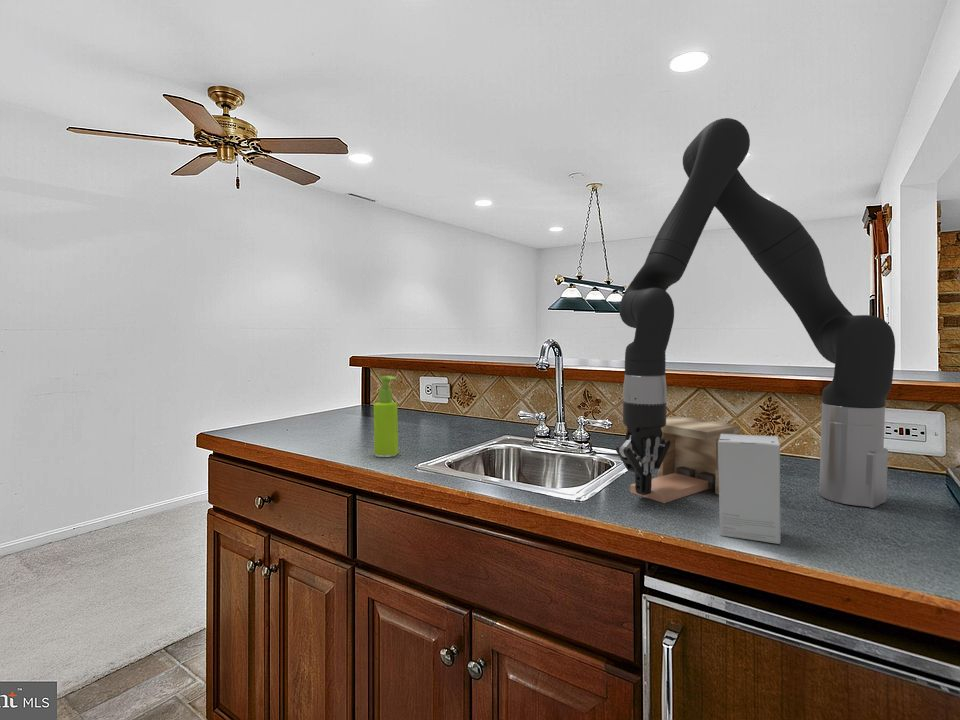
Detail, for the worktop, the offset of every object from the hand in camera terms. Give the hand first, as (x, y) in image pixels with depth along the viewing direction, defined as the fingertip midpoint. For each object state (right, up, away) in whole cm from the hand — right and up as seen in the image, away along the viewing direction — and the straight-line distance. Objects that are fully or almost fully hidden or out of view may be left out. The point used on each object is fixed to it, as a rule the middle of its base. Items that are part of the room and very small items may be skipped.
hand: (643, 493), depth 94 cm
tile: (+7, -1, +5) cm, 8 cm away
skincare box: (+11, -2, -16) cm, 20 cm away
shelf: (+11, -1, +8) cm, 14 cm away
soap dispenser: (-53, 0, +35) cm, 63 cm away
